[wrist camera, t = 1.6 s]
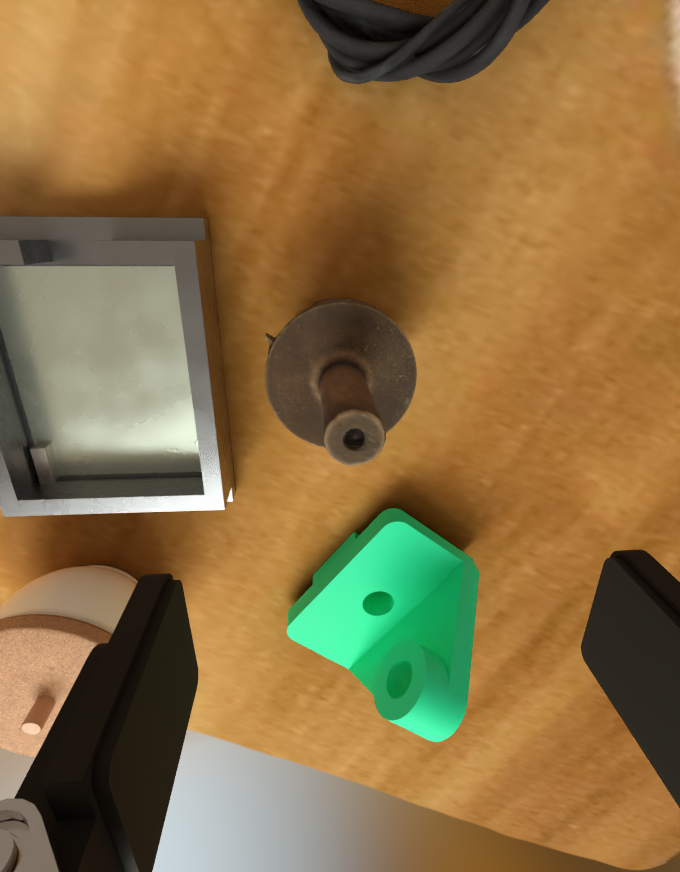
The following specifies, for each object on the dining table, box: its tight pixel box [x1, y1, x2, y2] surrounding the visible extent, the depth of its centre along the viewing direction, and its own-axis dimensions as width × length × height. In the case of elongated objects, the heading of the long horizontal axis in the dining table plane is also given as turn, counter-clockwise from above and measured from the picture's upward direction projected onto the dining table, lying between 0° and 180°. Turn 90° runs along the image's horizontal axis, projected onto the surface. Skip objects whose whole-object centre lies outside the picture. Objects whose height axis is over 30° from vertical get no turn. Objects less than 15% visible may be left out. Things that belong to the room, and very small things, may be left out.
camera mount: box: [287, 508, 479, 742], centre depth 29 cm, size 12×8×10 cm, turn 141°
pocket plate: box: [0, 216, 236, 517], centre depth 24 cm, size 12×16×4 cm
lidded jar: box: [0, 565, 138, 757], centre depth 28 cm, size 11×11×9 cm
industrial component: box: [265, 298, 417, 466], centre depth 21 cm, size 9×7×12 cm
